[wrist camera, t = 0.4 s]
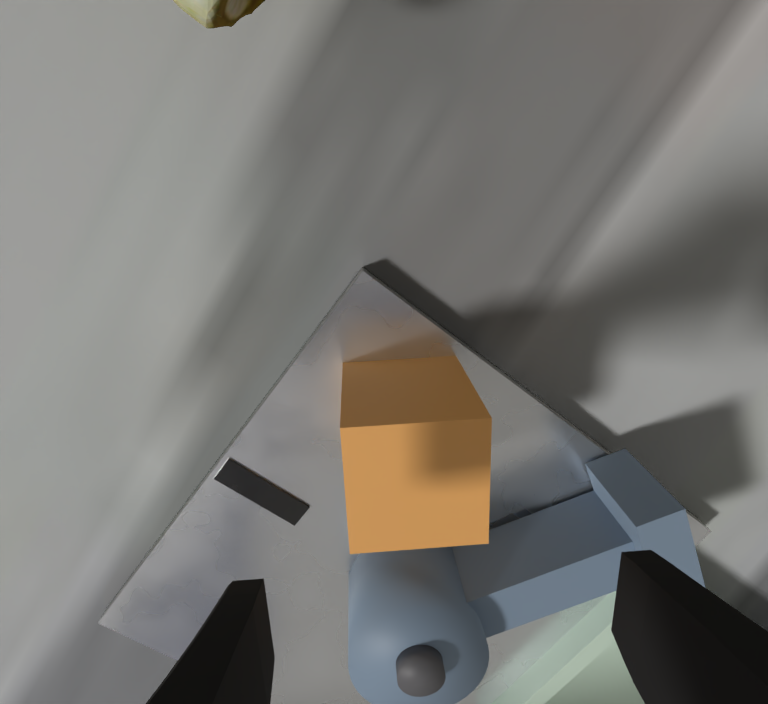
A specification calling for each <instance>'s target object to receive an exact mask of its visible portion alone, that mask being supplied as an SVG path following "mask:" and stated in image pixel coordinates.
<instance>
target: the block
mask: <svg viewBox="0 0 768 704" xmlns="http://www.w3.org/2000/svg"><path fill="white" fill-rule="evenodd" d="M491 434H492V417H491V416H490V414H489V412H488V410H487V409H486V407H485V405H484V403H483V402H482V400H481V398H480V396H479V395H478V393H477V391H476V390H475V388H474V386H473V384H472V383H471V381H470V379H469V377H468V376H467V374H466V372H465V370H464V369H463V367H462V365H461V363H460V362H459V360H458V358H457V357H456V356H443V357H426V358H410V359H393V360H377V361H360V362H344V363H343V368H342V391H341V414H340V436H341V449H342V462H343V474H344V487H345V500H346V513H347V526H348V538H349V551H350V554H359V553H372V552H385V551H398V550H412V549H425V548H438V547H451V546H464V545H477V544H489V510H490V472H491Z"/></svg>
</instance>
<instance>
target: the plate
mask: <svg viewBox="0 0 768 704" xmlns="http://www.w3.org/2000/svg"><path fill="white" fill-rule="evenodd" d="M443 356H456V357H457V358H458V360H459V362H460V363H461V365H462V367H463V369H464V370H465V372H466V374H467V376H468V377H469V379H470V381H471V383H472V384H473V386H474V388H475V390H476V391H477V393H478V395H479V396H480V398H481V400H482V402H483V403H484V405H485V407H486V409H487V410H488V412H489V414H490V416H491V417H492V434H491V472H490V510H489V530H491V529H493V528H496V527H499V526H501V525H504V524H507V523H509V522H512V521H515V520H517V519H520V518H522V517H525V516H528V515H530V514H533V513H536V512H538V511H541V510H544V509H546V508H549V507H551V506H554V505H557V504H559V503H562V502H565V501H567V500H570V499H573V498H575V497H578V496H580V495H583V494H586V493H588V492H591V491H594V490H593V486H592V483H591V480H590V477H589V474H588V471H587V468H586V465H585V464H586V463H589V462H591V461H594V460H596V459H599V458H602V457H604V456H607V455H609V454H612V453H610V452H609V451H608V450H606V449H605V448H603V447H602V446H601V445H599V444H598V443H597V442H595V441H594V440H593V439H591V438H590V437H589V436H587V435H586V434H585V433H583V432H582V431H581V430H579V429H578V428H577V427H575V426H574V425H573V424H571V423H570V422H569V421H567V420H566V419H565V418H563V417H562V416H561V415H559V414H558V413H557V412H555V411H554V410H553V409H551V408H550V407H549V406H547V405H546V404H545V403H543V402H542V401H541V400H539V399H538V398H537V397H535V396H534V395H533V394H531V393H530V392H529V391H527V390H526V389H525V388H523V387H522V386H521V385H519V384H518V383H517V382H515V381H514V380H513V379H511V378H510V377H509V376H507V375H506V374H505V373H503V372H502V371H501V370H499V369H498V368H497V367H495V366H494V365H493V364H491V363H490V362H489V361H487V360H486V359H485V358H483V357H482V356H481V355H479V354H478V353H477V352H475V351H474V350H473V349H471V348H470V347H469V346H467V345H466V344H465V343H463V342H462V341H461V340H459V339H458V338H457V337H455V336H454V335H453V334H451V333H450V332H449V331H447V330H446V329H445V328H443V327H442V326H441V325H439V324H438V323H437V322H435V321H434V320H433V319H431V318H430V317H429V316H427V315H426V314H425V313H423V312H422V311H421V310H419V309H418V308H417V307H415V306H414V305H413V304H411V303H410V302H409V301H407V300H406V299H405V298H403V297H402V296H401V295H399V294H398V293H397V292H395V291H394V290H393V289H391V288H390V287H389V286H387V285H386V284H385V283H383V282H382V281H381V280H379V279H378V278H377V277H375V276H374V275H373V274H371V273H370V272H369V271H367V270H366V269H365V268H363V267H362V268H361V269H360V271H359V272H358V273H357V275H356V276H355V277H354V279H353V280H352V281H351V283H350V284H349V285H348V287H347V288H346V289H345V291H344V292H343V293H342V295H341V296H340V297H339V299H338V300H337V301H336V303H335V304H334V305H333V307H332V308H331V309H330V311H329V312H328V313H327V315H326V316H325V317H324V319H323V320H322V321H321V323H320V324H319V325H318V327H317V328H316V329H315V331H314V332H313V333H312V335H311V336H310V337H309V339H308V340H307V341H306V343H305V344H304V345H303V347H302V348H301V349H300V351H299V352H298V353H297V355H296V356H295V357H294V359H293V360H292V361H291V363H290V364H289V365H288V367H287V368H286V369H285V371H284V372H283V373H282V375H281V376H280V377H279V379H278V380H277V381H276V383H275V384H274V385H273V387H272V388H271V389H270V391H269V392H268V393H267V395H266V396H265V397H264V399H263V400H262V401H261V403H260V404H259V405H258V407H257V408H256V409H255V411H254V412H253V413H252V415H251V416H250V417H249V419H248V420H247V421H246V423H245V424H244V425H243V427H242V428H241V429H240V431H239V432H238V433H237V435H236V436H235V437H234V439H233V440H232V441H231V443H230V444H229V445H228V447H227V448H226V449H225V451H224V452H223V453H222V455H221V456H220V457H219V459H218V460H217V461H216V463H215V464H214V465H213V467H212V468H211V469H210V471H209V472H208V473H207V475H206V476H205V477H204V479H203V480H202V481H201V483H200V484H199V485H198V487H197V488H196V489H195V491H194V492H193V493H192V495H191V496H190V497H189V499H188V500H187V501H186V503H185V504H184V505H183V507H182V508H181V509H180V511H179V512H178V513H177V515H176V516H175V517H174V519H173V520H172V521H171V523H170V524H169V525H168V527H167V528H166V529H165V531H164V532H163V533H162V535H161V536H160V537H159V539H158V540H157V541H156V543H155V544H154V545H153V547H152V548H151V549H150V551H149V552H148V553H147V555H146V556H145V557H144V559H143V560H142V561H141V563H140V564H139V565H138V567H137V568H136V569H135V571H134V572H133V573H132V575H131V576H130V577H129V579H128V580H127V581H126V583H125V584H124V585H123V587H122V588H121V589H120V591H119V592H118V593H117V594H116V596H115V597H114V598H113V600H112V601H111V602H110V604H109V605H108V606H107V608H106V610H105V611H104V613H103V615H102V617H101V619H100V620H99V622H98V623H99V624H101V625H103V626H105V627H107V628H109V629H111V630H113V631H115V632H118V633H120V634H122V635H124V636H126V637H128V638H130V639H132V640H134V641H137V642H139V643H141V644H143V645H145V646H147V647H149V648H151V649H153V650H156V651H158V652H160V653H162V654H164V655H166V656H168V657H170V658H172V659H175V660H177V661H178V660H179V658H180V657H181V656H182V654H183V653H184V651H185V650H186V649H187V647H188V646H189V644H190V643H191V641H192V640H193V638H194V637H195V636H196V634H197V633H198V631H199V630H200V628H201V627H202V625H203V624H204V622H205V621H206V619H207V618H208V616H209V615H210V613H211V611H212V610H213V608H214V607H215V605H216V604H217V602H218V600H219V599H220V597H221V596H222V594H223V593H224V591H225V589H226V588H227V586H228V585H229V584H230V583H231V582H232V581H237V580H250V579H264V584H265V591H266V598H267V605H268V612H269V619H270V626H271V634H272V641H273V648H274V655H275V661H274V672H273V683H272V693H271V702H270V704H372V703H370V702H368V701H367V700H366V699H365V698H363V697H362V696H361V695H360V694H359V693H358V691H357V690H356V688H355V687H354V685H353V683H352V681H351V679H350V675H349V670H348V601H349V574H350V570H351V567H352V565H353V563H354V561H355V559H356V558H357V557H358V555H359V554H360V553H359V554H350V551H349V538H348V526H347V513H346V500H345V487H344V474H343V462H342V449H341V436H340V414H341V391H342V368H343V363H344V362H360V361H377V360H393V359H410V358H426V357H443ZM685 510H686V509H685ZM686 514H687V518H688V521H689V525H690V529H691V533H692V537H693V541H694V545H695V546H696V545H697V544H698V543H699V542H701V541H702V540H703V539H704V538H705V537H706V536H707V535H708V534H709V533H710V532H711V530H710V529H709V528H708V527H707V526H706V525H705V524H704V523H703V522H702V521H701V520H700V519H698V518H697V517H696V516H694V515H693V514H692V513H690V512H689V511H688V510H686ZM607 595H608V594H606V595H603V596H600V597H598V598H595V599H592V600H589V601H587V602H584V603H581V604H578V605H576V606H573V607H570V608H567V609H565V610H562V611H559V612H556V613H554V614H551V615H548V616H545V617H543V618H540V619H537V620H534V621H532V622H529V623H526V624H523V625H521V626H518V627H515V628H512V629H510V630H507V631H504V632H501V633H499V634H496V635H493V636H491V637H488V638H486V640H487V644H488V648H489V663H488V668H487V670H486V673H485V675H484V677H483V679H482V681H481V682H480V683H479V685H478V686H477V687H476V688H475V689H474V690H473V691H472V692H471V693H470V694H469V695H468V696H467V697H465V698H464V699H462V700H461V701H459V702H458V703H456V704H492V703H493V702H494V701H495V700H496V699H497V698H498V697H499V696H500V695H501V694H502V693H503V692H504V691H505V690H507V689H508V688H509V687H510V686H511V685H512V684H513V683H514V682H515V681H516V680H517V679H518V678H519V677H520V676H521V675H522V674H524V673H525V672H526V671H527V670H528V669H529V668H530V667H531V666H532V665H533V664H534V663H535V662H536V661H537V660H538V659H540V658H541V657H542V656H543V655H544V654H545V653H546V652H547V651H548V650H549V649H550V648H551V647H552V646H553V645H554V644H555V643H557V642H558V641H559V640H560V639H561V638H562V637H563V636H564V635H565V634H566V633H567V632H568V631H569V630H570V629H571V628H573V627H574V626H575V625H576V624H577V623H578V622H579V621H580V620H581V619H582V618H583V617H584V616H585V615H586V614H587V613H588V612H590V611H591V610H592V609H593V608H594V607H595V606H596V605H597V604H598V603H599V602H600V601H601V600H602V599H603V598H604V597H606V596H607Z"/></svg>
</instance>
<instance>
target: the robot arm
mask: <svg viewBox="0 0 768 704" xmlns="http://www.w3.org/2000/svg"><path fill="white" fill-rule="evenodd" d="M611 631H612V634H613V636H614V638H615V641H616V643H617V646H618V648H619V651H620V653H621V655H622V658H623V660H624V662H625V665H626V667H627V669H628V671H629V674H630V676H631V678H632V680H633V683H634V685H635V687H636V688H637V690H638V692H639V694H640V696H641V698H642V699H643V701H644V703H645V704H768V632H767V631H766V630H765V629H763V628H762V627H760V626H759V625H757V624H756V623H754V622H753V621H751V620H750V619H749V618H747V617H746V616H744V615H743V614H741V613H740V612H739V611H737V610H736V609H734V608H733V607H731V606H730V605H729V604H727V603H726V602H724V601H723V600H722V599H720V598H719V597H717V596H716V595H715V594H713V593H712V592H710V591H709V590H708V589H706V588H705V587H703V586H702V585H701V584H699V583H698V582H696V581H695V580H694V579H692V578H691V577H689V576H688V575H687V574H685V573H684V572H682V571H681V570H680V569H678V568H677V567H675V566H674V565H673V564H671V563H670V562H668V561H667V560H665V559H664V558H663V557H661V556H660V555H658V554H657V553H655V552H654V551H652V550H641V551H627V552H621V559H620V567H619V575H618V582H617V590H616V597H615V605H614V613H613V620H612V628H611ZM274 661H275V655H274V648H273V641H272V634H271V626H270V619H269V612H268V605H267V598H266V591H265V584H264V579H250V580H237V581H232V582H231V583H230V584H229V585H228V586H227V588H226V589H225V591H224V593H223V594H222V596H221V597H220V599H219V600H218V602H217V604H216V605H215V607H214V608H213V610H212V611H211V613H210V615H209V616H208V618H207V619H206V621H205V622H204V624H203V625H202V627H201V628H200V630H199V631H198V633H197V634H196V636H195V637H194V638H193V640H192V641H191V643H190V644H189V646H188V647H187V649H186V650H185V651H184V653H183V654H182V656H181V657H180V658H179V660H178V661H177V663H176V664H175V665H174V667H173V668H172V670H171V671H170V672H169V674H168V675H167V677H166V678H165V679H164V681H163V682H162V683H161V685H160V686H159V687H158V689H157V690H156V691H155V692H154V694H153V695H152V696H151V698H150V699H149V700H148V701H147V703H146V704H270V702H271V693H272V683H273V672H274Z"/></svg>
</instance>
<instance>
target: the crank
mask: <svg viewBox="0 0 768 704" xmlns="http://www.w3.org/2000/svg"><path fill="white" fill-rule="evenodd" d="M585 465H586V468H587V471H588V474H589V477H590V480H591V483H592V486H593V490H594V491H591V492H588V493H586V494H583V495H580V496H578V497H575V498H573V499H570V500H567V501H565V502H562V503H559V504H557V505H554V506H551V507H549V508H546V509H544V510H541V511H538V512H536V513H533V514H530V515H528V516H525V517H522V518H520V519H517V520H515V521H512V522H509V523H507V524H504V525H501V526H499V527H496V528H493V529H491V530H489V544H477V545H464V546H451V547H438V548H425V549H412V550H398V551H385V552H372V553H360V554H359V555H358V557H357V558H356V559H355V561H354V563H353V565H352V567H351V570H350V574H349V601H348V670H349V675H350V679H351V681H352V683H353V685H354V687H355V688H356V690H357V691H358V693H359V694H360V695H361V696H362V697H363V698H365V699H366V700H367V701H368V702H370V703H372V704H456V703H458V702H459V701H461V700H462V699H464V698H465V697H467V696H468V695H469V694H470V693H471V692H472V691H473V690H474V689H475V688H476V687H477V686H478V685H479V683H480V682H481V681H482V679H483V677H484V675H485V673H486V670H487V668H488V663H489V648H488V644H487V640H486V638H488V637H491V636H493V635H496V634H499V633H501V632H504V631H507V630H510V629H512V628H515V627H518V626H521V625H523V624H526V623H529V622H532V621H534V620H537V619H540V618H543V617H545V616H548V615H551V614H554V613H556V612H559V611H562V610H565V609H567V608H570V607H573V606H576V605H578V604H581V603H584V602H587V601H589V600H592V599H595V598H598V597H600V596H603V595H606V594H609V593H611V592H614V591H616V590H617V582H618V575H619V567H620V559H621V552H627V551H641V550H652V551H654V552H655V553H657V554H658V555H660V556H661V557H663V558H664V559H665V560H667V561H668V562H670V563H671V564H673V565H674V566H675V567H677V568H678V569H680V570H681V571H682V572H684V573H685V574H687V575H688V576H689V577H691V578H692V579H694V580H695V581H696V582H698V583H699V584H701V585H702V586H703V587H705V584H704V580H703V576H702V572H701V568H700V564H699V560H698V556H697V553H696V549H695V545H694V541H693V537H692V533H691V529H690V525H689V521H688V518H687V514H686V510H685V508H684V507H683V506H682V505H681V504H680V503H679V502H678V501H677V500H676V499H675V498H674V497H673V496H672V495H671V494H670V493H669V492H668V491H667V490H666V489H665V488H664V487H663V486H662V485H661V484H660V483H659V482H658V481H657V480H656V479H655V478H654V477H653V476H652V475H651V474H650V473H649V472H648V471H647V470H646V469H645V468H644V467H643V466H642V465H641V464H640V463H639V462H638V461H637V460H636V459H635V458H634V457H633V456H632V455H631V454H630V453H629V452H628V451H627V450H626V449H623V450H620V451H617V452H615V453H612V454H609V455H607V456H604V457H602V458H599V459H596V460H594V461H591V462H589V463H586V464H585Z"/></svg>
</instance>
